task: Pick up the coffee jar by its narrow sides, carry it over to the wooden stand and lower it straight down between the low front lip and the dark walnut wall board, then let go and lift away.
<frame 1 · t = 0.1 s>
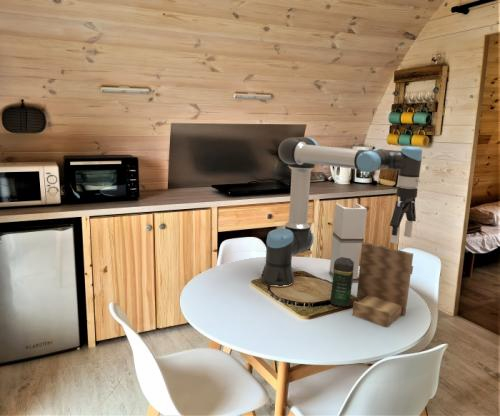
hand: (401, 239, 174), 28 cm above the table, tool pointing down, fingers open, 13 cm apart
grey seamed pillar: (343, 278, 208), on the table
coffee jar: (340, 302, 181), on the table
wooden stand: (372, 313, 172), on the table
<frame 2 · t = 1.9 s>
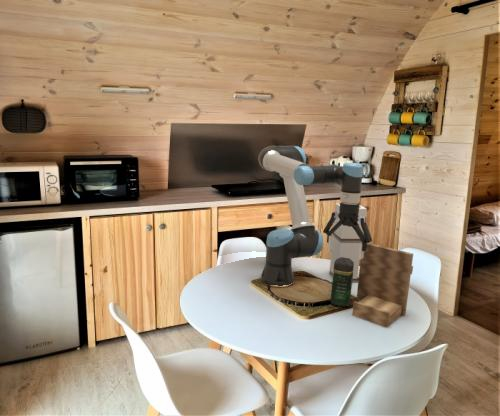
hand: (345, 254, 176), 21 cm above the table, tool pointing down, fingers open, 13 cm apart
nothing on the table moved.
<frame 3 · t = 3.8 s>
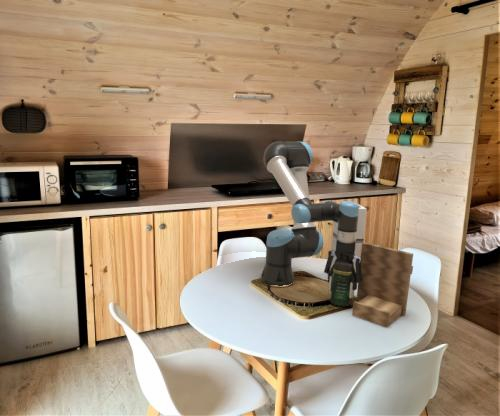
hand: (341, 293, 180), 4 cm above the table, tool pointing down, fingers closed on coffee jar, 9 cm apart
coffee jar: (340, 302, 181), on the table, touching gripper
everything else where it was.
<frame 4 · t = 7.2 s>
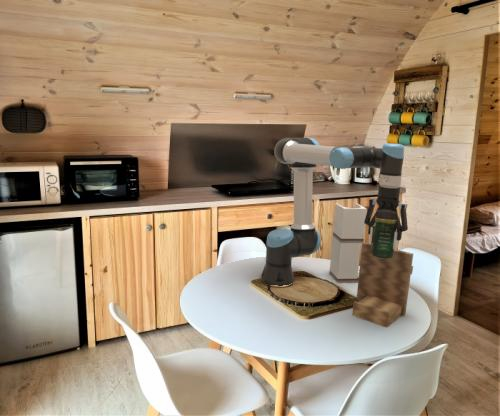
hand: (383, 245, 165), 28 cm above the table, tool pointing down, fingers closed on coffee jar, 9 cm apart
coffee jar: (382, 256, 166), point 24 cm above the table, touching gripper
everything else where it was.
when the fingers open (9 cm above the table, at t = 10.4 s): coffee jar drops 1 cm, resting on wooden stand.
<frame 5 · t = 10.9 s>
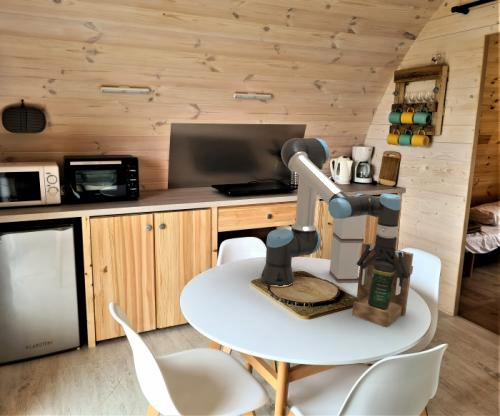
hand: (380, 288, 169), 11 cm above the table, tool pointing down, fingers open, 13 cm apart
coffee jar: (378, 305, 170), point 4 cm above the table, touching wooden stand
everything else where it was.
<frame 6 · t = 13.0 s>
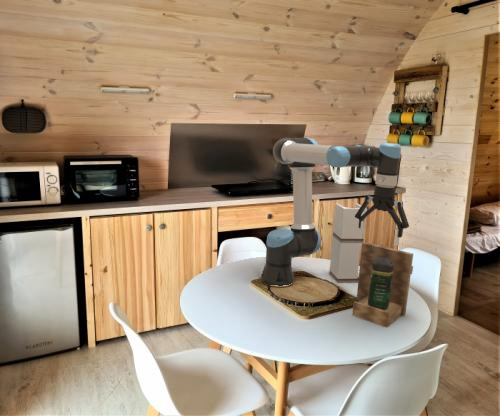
hand: (378, 241, 166), 29 cm above the table, tool pointing down, fingers open, 13 cm apart
nothing on the table moved.
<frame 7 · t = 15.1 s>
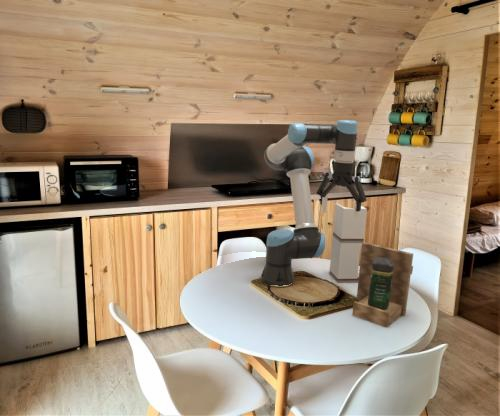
hand: (339, 216, 171), 37 cm above the table, tool pointing down, fingers open, 13 cm apart
nothing on the table moved.
at the end: coffee jar inside the target area (0.1 cm from its centre), point 3.8 cm above the table; coffee jar tilted 0°; the gripper is holding nothing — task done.
